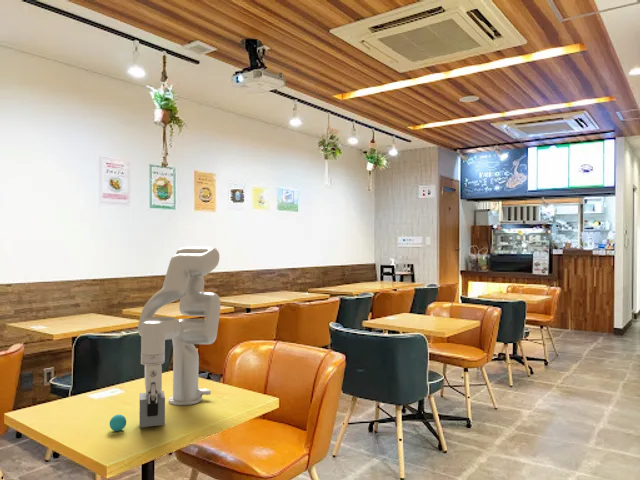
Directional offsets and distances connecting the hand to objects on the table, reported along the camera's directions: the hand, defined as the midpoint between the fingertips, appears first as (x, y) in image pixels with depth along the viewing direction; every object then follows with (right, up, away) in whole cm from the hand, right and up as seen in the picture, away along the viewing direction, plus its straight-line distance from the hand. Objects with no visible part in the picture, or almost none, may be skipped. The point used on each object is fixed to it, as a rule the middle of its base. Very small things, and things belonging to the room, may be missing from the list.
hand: (152, 411), depth 163 cm
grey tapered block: (0, -4, 0) cm, 4 cm away
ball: (-10, -2, -4) cm, 11 cm away
